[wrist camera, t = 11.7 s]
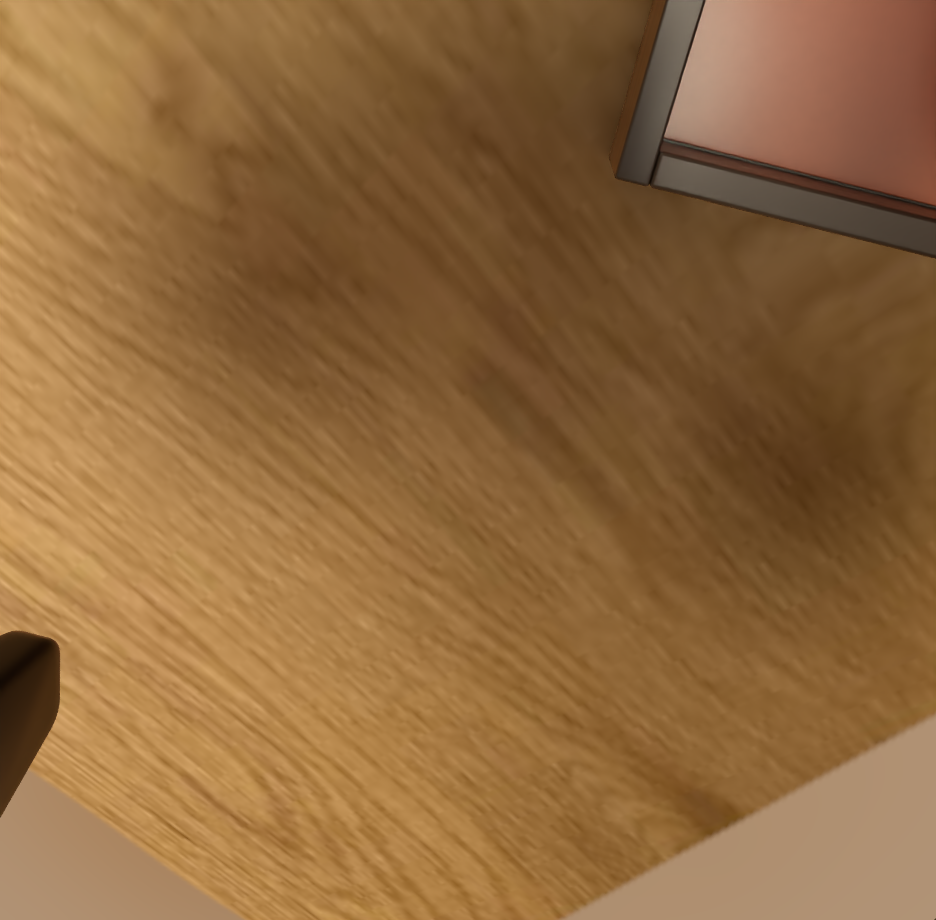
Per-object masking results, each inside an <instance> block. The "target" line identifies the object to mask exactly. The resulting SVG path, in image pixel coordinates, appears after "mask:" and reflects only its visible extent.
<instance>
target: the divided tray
mask: <svg viewBox="0 0 936 920" xmlns="http://www.w3.org/2000/svg"><path fill="white" fill-rule="evenodd" d="M609 160H610V162H611V166H612V169H613V172H614V175H615V178H616V179H619V180H623V181H627V182H631V183H635V184H639V185H643V186H648V185H650V186H651V187H652V188H655V189H659V190H663V191H667V192H671V193H675V194H679V195H683V196H687V197H691V198H695V199H699V200H703V201H707V202H711V203H715V204H719V205H723V206H727V207H731V208H735V209H739V210H743V211H747V212H751V213H755V214H759V215H763V216H767V217H771V218H775V219H779V220H783V221H787V222H791V223H795V224H799V225H803V226H807V227H811V228H815V229H819V230H823V231H827V232H831V233H835V234H839V235H843V236H847V237H851V238H855V239H859V240H863V241H867V242H871V243H875V244H879V245H883V246H887V247H891V248H895V249H899V250H903V251H907V252H911V253H915V254H919V255H923V256H927V257H931V258H935V259H936V0H653V3H652V7H651V10H650V14H649V17H648V21H647V24H646V28H645V32H644V35H643V39H642V42H641V46H640V49H639V53H638V56H637V60H636V63H635V67H634V70H633V74H632V78H631V81H630V85H629V88H628V92H627V95H626V99H625V102H624V106H623V109H622V113H621V116H620V120H619V123H618V127H617V131H616V134H615V138H614V141H613V145H612V148H611V152H610V155H609Z"/></svg>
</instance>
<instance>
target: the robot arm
mask: <svg viewBox="0 0 936 920" xmlns="http://www.w3.org/2000/svg"><path fill="white" fill-rule="evenodd" d="M59 702H60V650H59V646H58V644H57V642H56V641H54V640H53V639H51V638H47V637H43V636H39V635H36V634H32V633H28V632H24V631H11V632H8V633H5V634H3V635H1V636H0V817H1V815H2V814H3V812H4V810H5V808H6V807H7V805H8V803H9V802H10V800H11V798H12V796H13V795H14V793H15V791H16V789H17V787H18V786H19V784H20V782H21V781H22V779H23V777H24V775H25V774H26V772H27V770H28V768H29V767H30V765H31V763H32V761H33V760H34V758H35V756H36V754H37V753H38V751H39V749H40V747H41V746H42V744H43V742H44V740H45V738H46V737H47V735H48V733H49V731H50V730H51V728H52V726H53V724H54V721H55V719H56V716H57V713H58V709H59ZM935 920H936V919H935Z"/></svg>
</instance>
